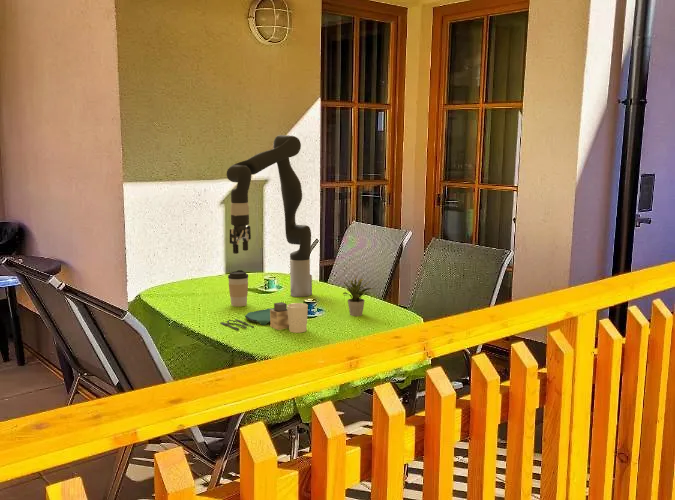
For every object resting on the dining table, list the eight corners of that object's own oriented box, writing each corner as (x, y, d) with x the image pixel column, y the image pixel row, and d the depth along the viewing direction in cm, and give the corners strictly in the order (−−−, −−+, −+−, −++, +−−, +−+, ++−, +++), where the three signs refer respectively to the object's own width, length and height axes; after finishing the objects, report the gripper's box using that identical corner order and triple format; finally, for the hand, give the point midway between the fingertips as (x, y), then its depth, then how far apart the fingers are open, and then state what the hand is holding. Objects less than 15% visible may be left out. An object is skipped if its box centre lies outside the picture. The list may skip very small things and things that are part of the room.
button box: (283, 324, 279) (283, 307, 278) (291, 327, 274) (291, 310, 273) (270, 326, 276) (270, 309, 275) (277, 330, 271) (277, 312, 270)
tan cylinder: (287, 328, 274) (287, 303, 272) (307, 327, 274) (307, 302, 273) (287, 333, 266) (287, 308, 264) (308, 333, 266) (308, 307, 265)
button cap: (282, 308, 276) (282, 302, 276) (286, 310, 273) (286, 303, 273) (274, 309, 274) (274, 303, 274) (278, 311, 271) (278, 305, 271)
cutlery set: (303, 320, 286) (303, 314, 286) (238, 333, 269) (238, 327, 268) (278, 310, 302) (278, 305, 301) (215, 323, 284) (214, 317, 284)
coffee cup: (245, 307, 306) (244, 273, 304) (225, 306, 308) (224, 273, 306) (251, 302, 315) (251, 270, 313) (232, 301, 317) (231, 269, 315)
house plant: (346, 321, 283) (346, 281, 280) (331, 313, 295) (331, 275, 292) (377, 316, 289) (377, 278, 287) (360, 309, 301) (360, 272, 299)
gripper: (240, 211, 299) (240, 249, 302) (223, 214, 286) (224, 254, 289) (255, 212, 297) (256, 250, 299) (239, 215, 284) (240, 255, 286)
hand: (240, 251), depth 294 cm, fingers open, 8 cm apart
